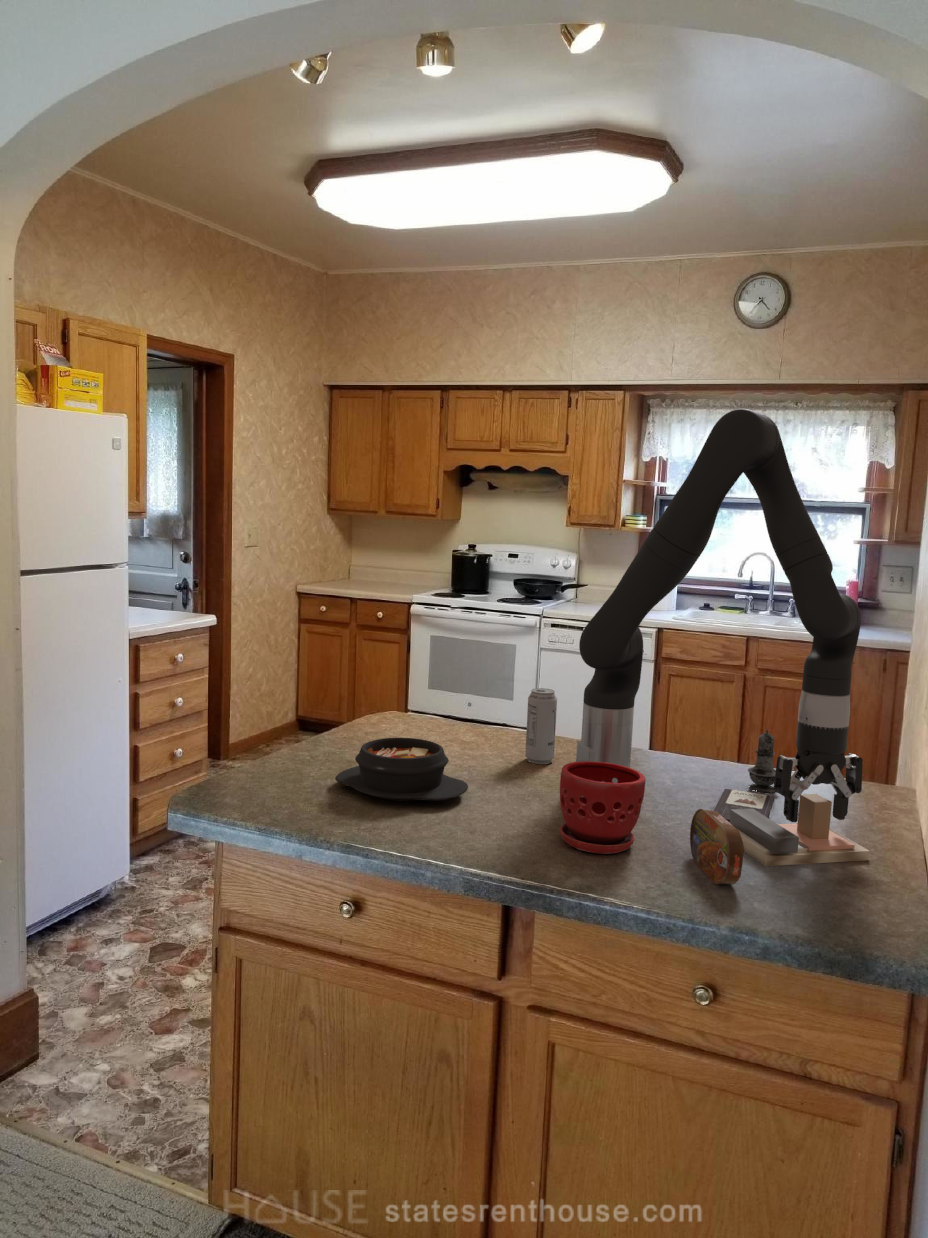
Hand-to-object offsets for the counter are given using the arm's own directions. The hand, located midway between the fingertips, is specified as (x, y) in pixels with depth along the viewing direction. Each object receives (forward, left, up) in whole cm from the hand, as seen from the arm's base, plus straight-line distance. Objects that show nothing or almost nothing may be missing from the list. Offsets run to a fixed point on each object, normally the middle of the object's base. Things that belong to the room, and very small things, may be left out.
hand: (815, 819), depth 142 cm
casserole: (-61, +35, -5) cm, 71 cm away
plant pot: (-34, +6, -5) cm, 35 cm away
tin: (-21, -7, -5) cm, 23 cm away
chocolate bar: (-1, +19, -5) cm, 20 cm away
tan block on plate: (0, 0, -3) cm, 3 cm away
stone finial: (+9, +29, -5) cm, 31 cm away
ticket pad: (-3, 0, -5) cm, 6 cm away
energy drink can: (-29, +52, -5) cm, 60 cm away
